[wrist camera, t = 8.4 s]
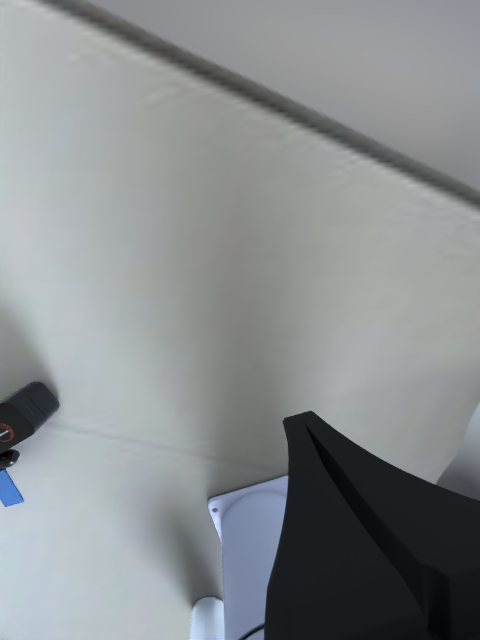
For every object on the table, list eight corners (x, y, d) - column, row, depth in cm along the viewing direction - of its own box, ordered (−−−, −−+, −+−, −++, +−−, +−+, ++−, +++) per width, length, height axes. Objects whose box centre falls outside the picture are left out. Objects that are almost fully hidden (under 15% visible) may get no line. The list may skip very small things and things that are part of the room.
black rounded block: (-39, 422, 19) (-88, 455, 16) (41, 375, 19) (7, 399, 16) (6, 464, 20) (-31, 503, 17) (82, 421, 20) (58, 451, 17)
